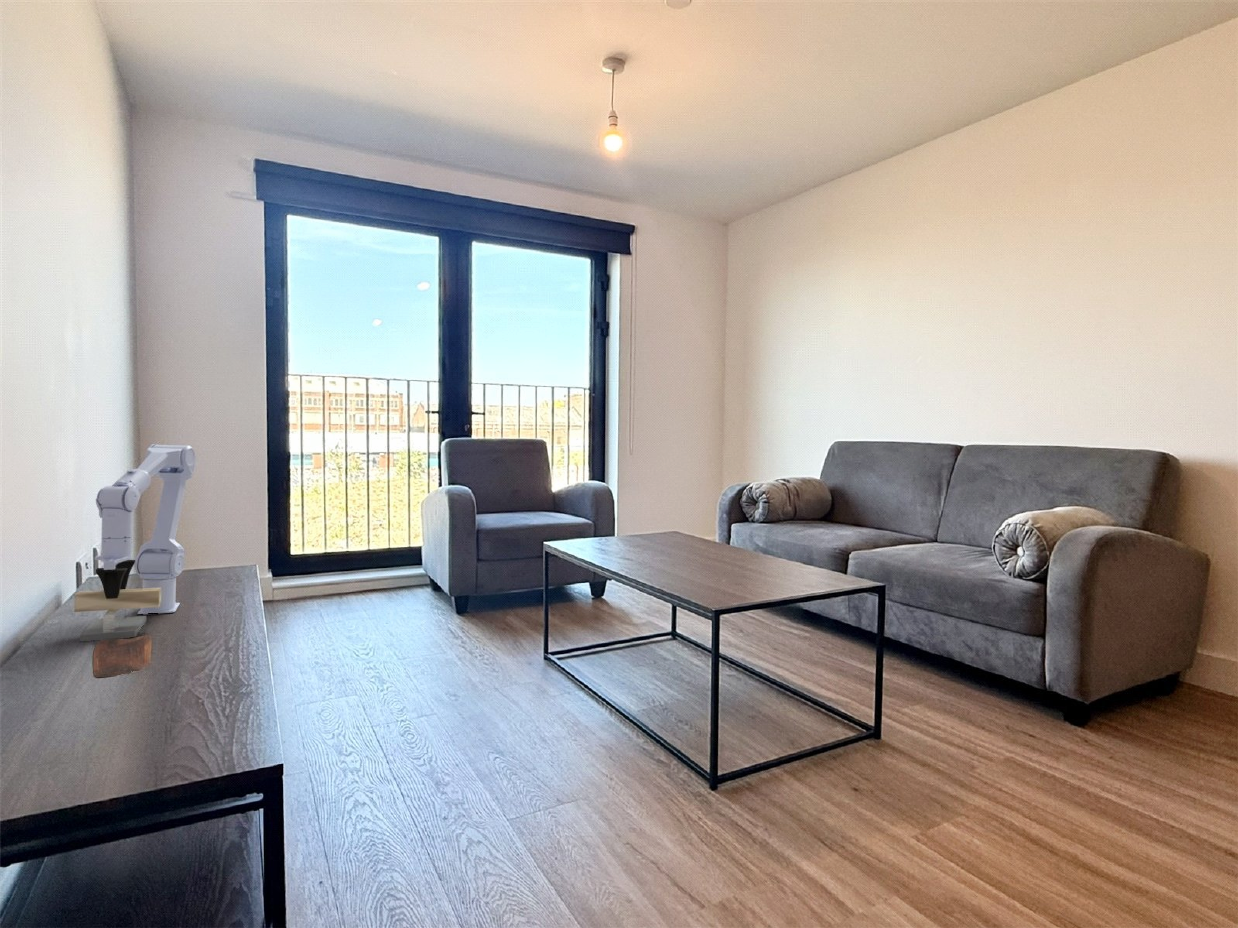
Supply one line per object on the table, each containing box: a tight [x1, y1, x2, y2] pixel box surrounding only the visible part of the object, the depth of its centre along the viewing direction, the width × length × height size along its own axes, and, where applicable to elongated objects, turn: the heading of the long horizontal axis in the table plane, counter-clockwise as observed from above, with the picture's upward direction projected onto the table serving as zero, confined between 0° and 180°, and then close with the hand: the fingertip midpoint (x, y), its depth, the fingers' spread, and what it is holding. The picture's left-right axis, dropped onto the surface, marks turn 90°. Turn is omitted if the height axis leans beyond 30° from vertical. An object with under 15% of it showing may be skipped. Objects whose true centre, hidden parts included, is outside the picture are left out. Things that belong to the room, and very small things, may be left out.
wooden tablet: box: [92, 634, 152, 678], centre depth 139 cm, size 26×2×10 cm
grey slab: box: [79, 615, 147, 642], centre depth 156 cm, size 14×10×2 cm
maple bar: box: [73, 587, 161, 613], centre depth 156 cm, size 3×16×4 cm, turn 117°
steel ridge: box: [102, 609, 127, 633], centre depth 156 cm, size 13×2×4 cm, turn 27°
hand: (115, 594), depth 156 cm, fingers open, 7 cm apart
